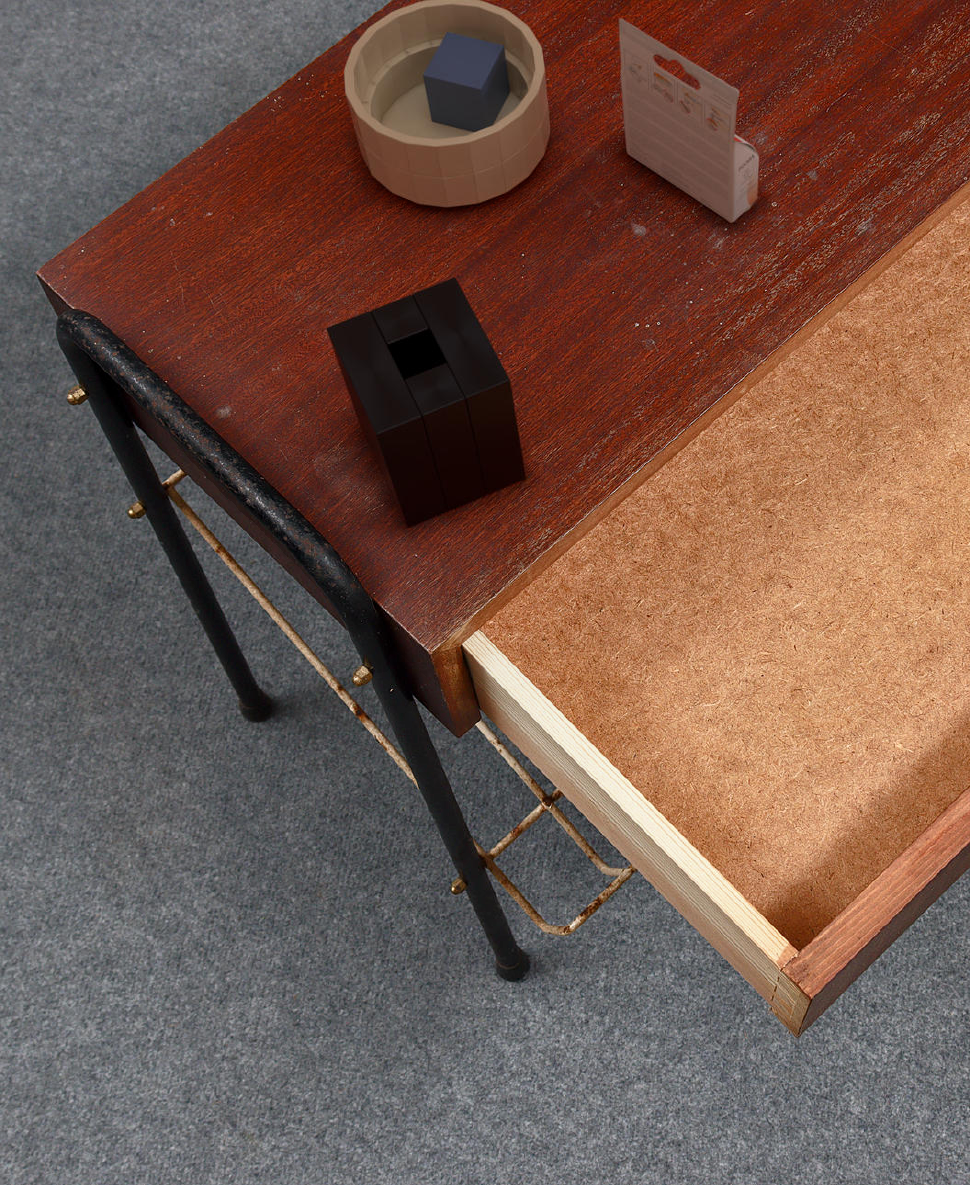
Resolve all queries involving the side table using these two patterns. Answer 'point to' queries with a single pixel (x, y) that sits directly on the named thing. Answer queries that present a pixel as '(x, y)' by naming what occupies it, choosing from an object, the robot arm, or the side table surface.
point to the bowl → (402, 117)
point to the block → (466, 82)
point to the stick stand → (431, 400)
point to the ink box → (685, 127)
